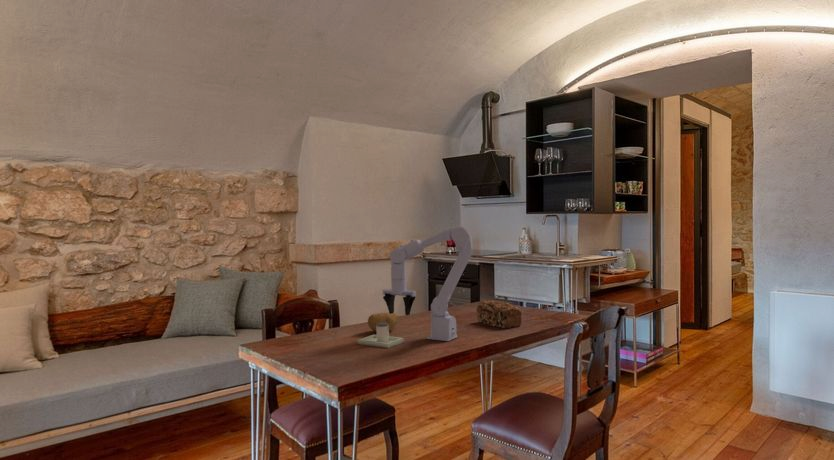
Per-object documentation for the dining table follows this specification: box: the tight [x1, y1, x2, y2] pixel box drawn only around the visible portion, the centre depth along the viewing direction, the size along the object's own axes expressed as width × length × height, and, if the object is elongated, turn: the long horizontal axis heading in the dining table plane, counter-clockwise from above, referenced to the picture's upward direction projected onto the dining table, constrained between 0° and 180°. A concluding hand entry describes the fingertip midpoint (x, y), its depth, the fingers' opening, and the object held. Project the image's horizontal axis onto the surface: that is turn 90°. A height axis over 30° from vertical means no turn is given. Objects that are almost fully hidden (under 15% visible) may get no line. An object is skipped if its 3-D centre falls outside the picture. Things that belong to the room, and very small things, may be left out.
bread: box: [475, 299, 522, 329], centre depth 216 cm, size 19×11×10 cm, turn 30°
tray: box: [357, 334, 405, 349], centre depth 186 cm, size 14×10×2 cm
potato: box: [367, 312, 399, 332], centre depth 206 cm, size 10×14×8 cm
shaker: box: [375, 323, 390, 343], centre depth 186 cm, size 5×5×7 cm
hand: (399, 314), depth 193 cm, fingers open, 7 cm apart
